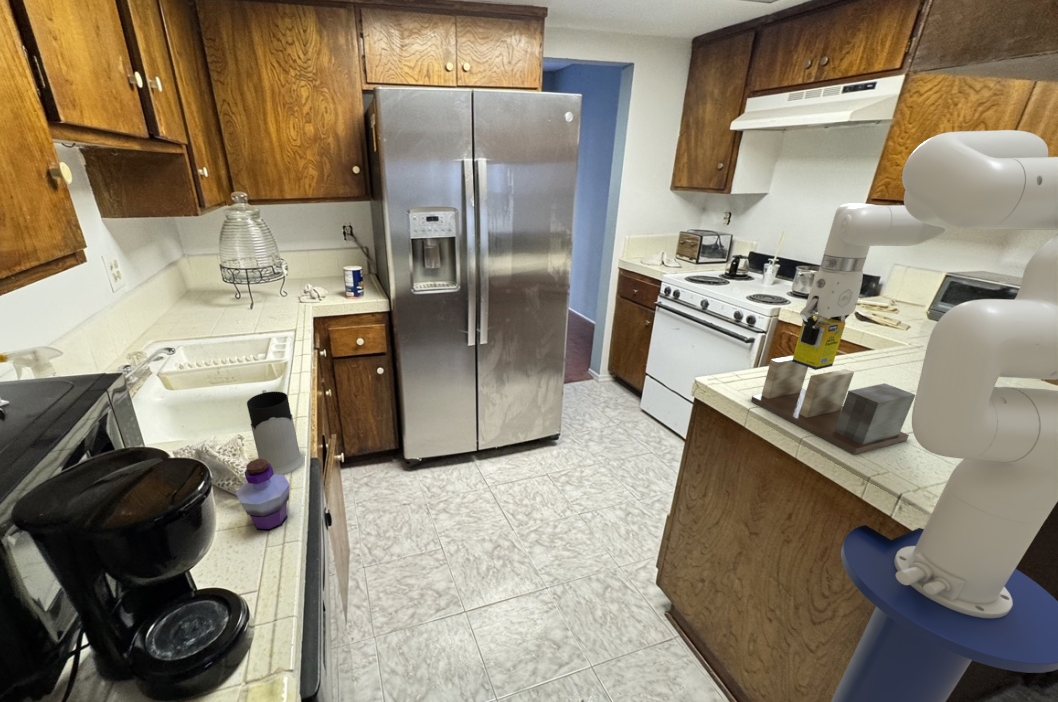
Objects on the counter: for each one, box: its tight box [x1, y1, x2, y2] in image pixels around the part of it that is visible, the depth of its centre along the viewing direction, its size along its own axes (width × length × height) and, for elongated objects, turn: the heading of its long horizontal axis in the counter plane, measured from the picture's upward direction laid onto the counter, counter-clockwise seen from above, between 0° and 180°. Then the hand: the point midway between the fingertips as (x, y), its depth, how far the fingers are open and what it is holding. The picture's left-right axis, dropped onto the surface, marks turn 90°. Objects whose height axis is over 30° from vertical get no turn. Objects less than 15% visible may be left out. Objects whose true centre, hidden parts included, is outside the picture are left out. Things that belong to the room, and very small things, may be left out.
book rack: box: [750, 355, 916, 455], centre depth 109 cm, size 16×26×12 cm, turn 18°
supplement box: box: [792, 316, 847, 371], centre depth 109 cm, size 6×6×11 cm
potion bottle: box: [235, 458, 291, 532], centre depth 80 cm, size 9×9×12 cm
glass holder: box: [246, 389, 304, 475], centre depth 97 cm, size 9×14×15 cm, turn 28°
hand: (818, 340), depth 109 cm, fingers closed on supplement box, 6 cm apart
